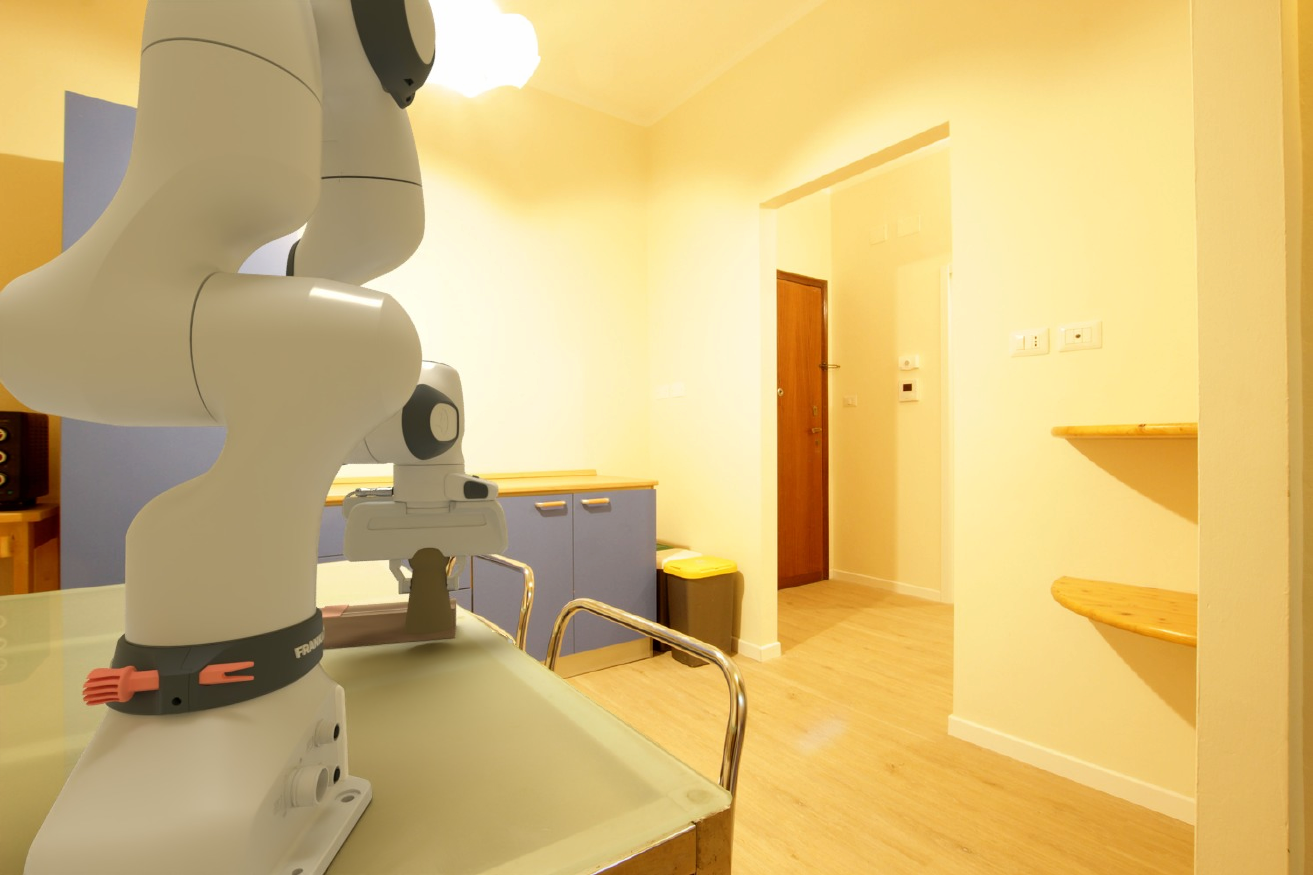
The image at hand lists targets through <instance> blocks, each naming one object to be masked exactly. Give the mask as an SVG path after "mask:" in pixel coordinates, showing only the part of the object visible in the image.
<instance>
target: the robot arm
mask: <svg viewBox="0 0 1313 875" xmlns="http://www.w3.org/2000/svg"><path fill="white" fill-rule="evenodd" d="M432 9H433V8H432V7H431V4H430V1H429V0H147V3H146V9H145V14H144V19H143V20H144V22H143V27H142V28H143V29H142V33H141V34H142V35H141V36H142V37H141V51H140V65H139V82H138V83H139V84H138V97H137V105H136V106H137V107H136V116H135V124H134V134H133V138H132V146H131V154H130V157H129V162H128V164H127V169H126V172H125V173H124V174H125V175H123V178H122V181H121V183H120V186H119V187H118V189H117V191H116V193H115V194H114V196H113V198H112V200H111V201H110V202H109V204H108V205H107V207H106V208H105V210H103V213H102V214H101V215H100V216H99V218H97V220H96V221H95V222H94V223H93V225H92V226H90V228H89V229H88V230H87V231H85V233H83V235H82V236H81V237H80V238H79V239H78V240H77V241H75V242H74V244H72V245H71V246H70V247H68V248H67V249H66V250H65V251H63V252H61V253H60V254H59V255H57V256H55V257H54V258H52V260H50V261H48V262H46V263H44V264H42V265H41V266H39V267H37V268H35V269H32V270H31V271H28V272H25V273H24V274H22V275H19V276H16V278H14V279H12V280H11V281H10V282H9V283H7V284H6V285H5V286H4V287H3V289H1V291H0V383H1V385H2V386H3V387H4V389H6V390H7V391H8V392H9V394H10V395H12V396H13V397H14V398H15V399H16V400H17V401H18V402H19V403H20V404H22V405H24V406H25V407H26V408H29V409H30V410H32V411H36V412H38V413H42V414H47V415H50V416H51V415H52V416H56V417H63V418H67V419H72V420H76V421H77V420H78V421H84V422H91V423H96V424H103V425H104V424H105V425H111V426H115V427H169V428H170V427H173V428H174V427H177V428H178V427H181V428H182V427H184V428H185V427H187V428H188V427H190V428H192V427H195V428H198V427H199V428H200V427H201V428H203V427H204V428H213V427H215V428H226V434H225V435H226V436H225V439H224V440H225V441H224V444H223V447H222V450H221V451H220V454H219V456H218V458H217V459H216V461H215V462H214V463H213V465H212V466H211V467H210V468H209V469H208V470H207V471H206V472H204V473H203V474H202V473H201V475H198V476H196V477H194V478H193V477H192V478H191V479H188V480H186V481H184V482H181V483H178V484H177V485H175V486H172V487H171V488H168V490H165V491H163V492H161V493H160V494H158V495H157V496H155V497H154V498H152V499H151V500H149V501H148V502H147V503H146V504H145V505H144V506H143V507H142V508H141V509H140V510H139V511H138V512H137V514H136V515H135V516H134V518H133V519H132V521H131V523H130V524H129V527H128V528H127V530H126V531H127V532H126V534H125V552H124V553H125V555H124V556H125V561H124V562H125V563H124V564H125V565H124V566H125V567H124V568H125V571H124V575H125V576H124V577H125V578H124V580H125V581H124V582H125V584H124V633H123V634H122V635H121V636H120V637H119V638H118V639H117V642H116V645H115V649H114V650H115V651H114V654H113V658H112V659H111V661H110V663H109V666H108V667H103V668H102V667H100V668H95V669H92V670H91V671H90V672H89V673H88V675H87V677H86V678H85V679H86V681H85V682H83V683H84V684H83V686H82V689H83V690H82V694H81V695H82V696H83V698H82V701H83V702H84V703H85V702H86V703H85V705H87V706H88V707H89V706H91V707H92V706H99V705H104V704H105V705H106V706H107V707H108V708H107V709H106V712H105V714H104V717H103V718H102V720H101V721H100V724H99V725H98V727H97V729H96V730H95V732H94V734H93V736H92V737H91V739H90V740H89V741H88V743H87V744H86V747H85V748H84V750H83V752H82V753H81V755H80V757H79V758H78V760H77V762H76V764H75V766H74V767H73V769H72V771H71V773H70V775H69V776H68V778H67V780H66V782H65V784H64V785H63V787H62V789H61V790H60V791H59V794H58V796H57V797H56V799H55V801H54V803H53V804H52V806H51V808H50V809H49V812H48V814H47V815H46V817H45V819H44V820H43V822H42V824H41V826H40V828H39V830H38V831H37V833H36V835H35V837H34V839H33V841H32V843H31V844H30V847H29V849H28V852H27V855H26V859H25V864H24V868H23V874H22V875H324V873H325V872H326V870H327V868H328V867H329V866H330V864H331V862H332V861H333V860H334V858H335V857H336V855H337V853H338V852H339V850H340V849H341V847H342V846H343V844H344V843H345V841H346V839H347V838H348V837H349V835H350V833H351V831H352V830H353V829H354V827H355V826H356V824H357V822H358V821H359V819H360V817H361V816H362V815H363V813H364V811H365V810H366V809H367V807H368V806H369V804H370V802H371V800H372V798H373V788H372V784H371V782H370V780H368V779H367V778H363V777H359V776H355V775H351V774H349V757H348V756H349V755H348V753H349V752H348V733H347V732H348V731H347V730H348V729H347V716H346V715H347V712H346V693H345V689H344V687H343V686H341V685H340V684H339V683H338V682H336V681H335V680H334V679H332V678H331V677H330V676H329V675H328V673H327V672H326V671H325V670H324V668H323V666H322V665H321V663H320V662H321V660H322V658H324V657H323V656H324V649H323V640H324V637H325V630H324V625H323V619H322V611H321V610H320V609H319V608H320V607H317V580H318V577H317V576H318V559H319V545H320V535H321V525H322V518H323V514H324V513H323V512H324V509H325V504H326V500H327V498H328V495H329V492H330V489H331V486H332V485H333V483H334V480H335V478H336V477H337V475H338V473H339V472H340V470H341V468H342V466H346V465H384V464H392V465H393V466H392V468H393V470H392V472H393V474H392V476H393V478H392V479H393V480H392V482H393V484H392V486H388V487H385V486H384V487H383V486H382V487H380V486H379V487H373V488H368V487H358V488H355V490H354V491H351V492H349V493H347V494H346V495H345V496H344V498H343V500H342V502H341V503H342V504H341V505H342V506H341V507H342V508H341V510H342V517H343V520H345V522H346V525H345V530H344V535H343V544H342V546H343V548H342V556H344V558H345V559H346V560H347V561H348V562H351V563H352V562H354V563H357V562H375V561H388V562H389V564H388V568H389V571H390V572H391V574H392V575H393V577H394V578H395V580H396V581H397V583H398V588H397V589H398V595H404V594H405V595H409V594H410V592H411V587H410V586H411V579H412V577H406V576H405V575H404V573H403V571H402V570H401V567H402V565H403V564H404V560H408V559H411V558H413V556H414V554H415V553H416V552H417V551H418V550H420V549H423V548H436V549H439V550H440V551H441V552H442V554H443V555H444V556H445V557H450V558H451V557H453V558H454V557H455V564H456V565H458V566H457V568H456V570H455V572H454V573H453V574H451V575H447V584H448V585H447V591H449V592H455V591H459V587H460V585H459V584H460V577H461V576H462V573H463V571H464V570H465V569H466V567H467V565H468V557H472V556H489V555H493V556H494V555H503V554H504V553H505V552H506V551H507V549H508V547H509V537H508V536H509V535H508V534H509V533H508V524H507V519H506V513H505V511H504V508H503V506H502V504H501V503H500V501H499V500H497V499H496V498H498V496H499V486H498V484H497V483H496V482H495V481H492V480H490V479H489V480H488V479H486V478H481V477H480V476H477V475H475V474H473V475H471V474H467V473H466V470H465V457H464V455H463V449H462V445H463V444H462V443H463V438H464V434H465V431H466V430H465V429H466V428H465V426H466V425H465V422H466V420H465V403H464V395H463V387H462V382H461V377H460V374H459V372H458V370H457V369H455V368H454V367H452V366H450V365H448V364H446V363H444V362H437V361H432V360H425V359H424V360H423V351H422V344H421V339H420V337H419V333H418V330H417V328H416V326H415V324H414V322H413V320H412V318H411V317H410V315H409V313H408V312H407V310H405V308H404V307H403V306H402V305H401V304H400V303H399V301H397V300H396V299H395V298H394V297H393V295H391V294H389V293H387V292H383V291H379V290H376V289H371V288H368V287H365V286H364V287H363V286H362V285H364V284H366V283H369V282H371V281H373V280H375V279H378V278H380V277H383V276H384V275H386V274H389V273H391V272H393V271H394V270H396V269H398V268H399V267H400V266H403V264H405V263H406V262H407V261H408V260H409V259H411V257H413V255H414V254H415V253H416V251H417V250H418V249H419V247H420V245H421V243H422V242H423V239H424V235H425V228H426V226H425V225H426V210H425V208H426V207H425V199H424V189H423V182H422V174H421V168H420V161H419V160H420V159H419V156H418V151H417V146H416V142H415V136H414V133H413V128H412V126H411V122H410V118H409V115H408V112H407V107H409V106H410V105H412V103H413V101H414V100H415V96H416V92H417V91H418V90H420V89H421V88H422V87H423V86H424V84H425V83H426V81H427V80H428V78H429V76H430V73H431V71H432V69H433V66H434V64H435V59H436V36H437V34H436V25H435V17H434V13H433V11H432ZM304 226H305V228H304V231H303V234H302V236H301V238H299V239H297V240H296V241H295V242H294V243H293V244H292V246H290V249H289V252H288V255H287V259H286V260H287V261H286V267H285V268H286V269H285V275H276V274H258V273H255V274H254V273H239V271H240V269H241V268H242V266H243V264H244V263H245V262H246V261H247V259H249V257H251V255H253V253H255V252H256V251H258V249H261V248H262V247H264V246H266V245H267V244H269V243H271V242H273V241H276V240H279V239H281V238H283V237H286V236H289V235H291V234H292V233H296V232H297V231H299V230H300V229H301V228H302V227H304ZM353 495H355V496H353Z"/></svg>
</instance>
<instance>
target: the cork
mask: <svg viewBox="0 0 1313 875" xmlns="http://www.w3.org/2000/svg"><path fill="white" fill-rule="evenodd" d="M450 560H451V557H445V556H444V555H443V554H442V552H441V551H440V550H439V549H436V548H423V549H420V550H418V551H417V552H416V553H415V554H414V556H413V558H411V559H407V561H408V565H409V567H410V568H411V569H412V573H411V578H412V579H411V586H410V587H411V592H410V594H408V601H407V602H408V608H407V615H406V622H405V632H407V633H411V634H432V633H438V632H442V631H445V630H448V629H450V628H452V627H453V618H452V611H451V603H450V599H451V598H450V591H447V585H448V584H447V576H448V575H447V569H446V568H447V566H448V565H449V563H450Z"/></svg>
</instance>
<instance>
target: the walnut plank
mask: <svg viewBox="0 0 1313 875" xmlns="http://www.w3.org/2000/svg"><path fill="white" fill-rule="evenodd" d="M450 603H451V611H452V618H453V627H452V628H450V629H448V630H445V631H442V632H438V633H432V634H411V633H407V632H405V622H406V615H407V608H408V601H398V602H383V603H371V604H369V603H368V604H359V605H356V604H355V605H350V604H337V605H326V606H324V607H318V608H319V609H320V610H321V611H322V619H323V625H324V630H325V637H324V640H323V650H327V649H338V648H340V649H341V648H348V647H349V648H351V647H361V646H373V645H383V644H384V645H385V644H395V643H406V642H407V643H408V642H417V641H418V642H419V641H429V640H430V641H431V640H441V639H450V638H452V639H453V638H456V632H457V631H456V630H457V597H455V598H450Z"/></svg>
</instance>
